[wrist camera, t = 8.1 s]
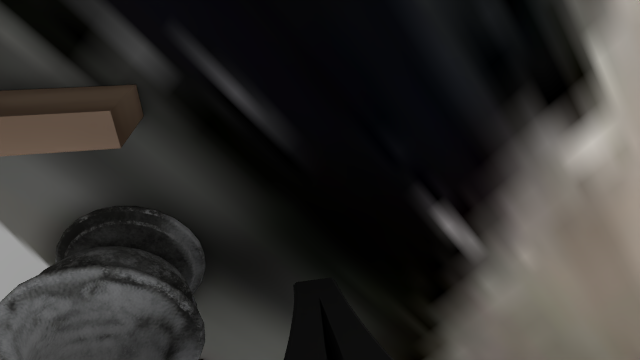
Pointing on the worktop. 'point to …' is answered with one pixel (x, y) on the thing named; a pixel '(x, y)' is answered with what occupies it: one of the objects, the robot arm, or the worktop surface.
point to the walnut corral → (67, 119)
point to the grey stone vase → (111, 293)
